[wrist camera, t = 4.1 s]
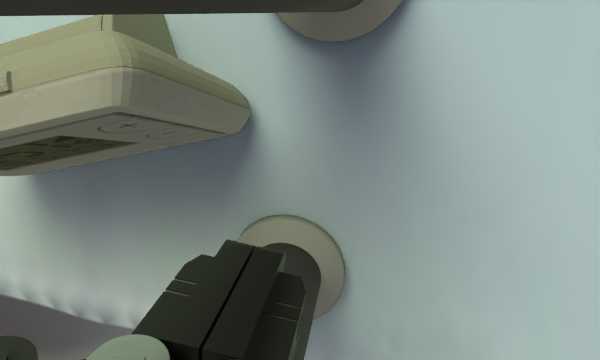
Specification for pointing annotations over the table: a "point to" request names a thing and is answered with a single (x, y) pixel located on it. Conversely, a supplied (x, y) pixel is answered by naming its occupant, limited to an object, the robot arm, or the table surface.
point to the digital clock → (105, 95)
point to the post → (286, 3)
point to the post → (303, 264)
